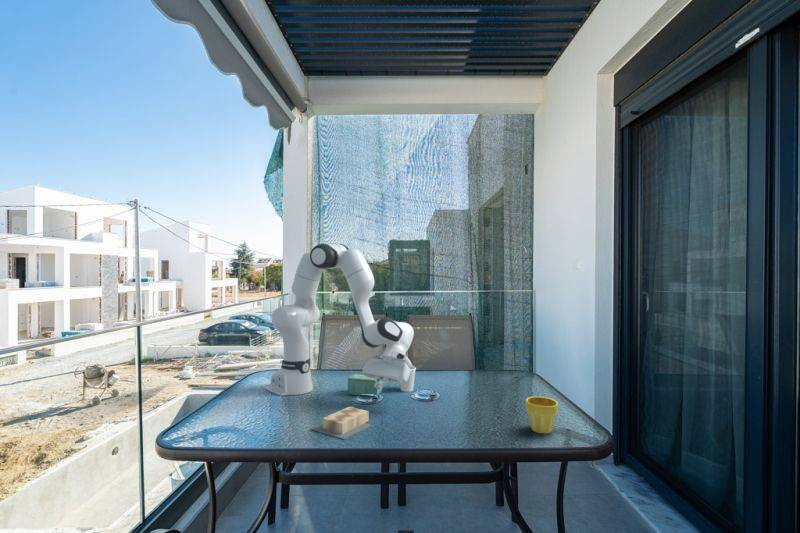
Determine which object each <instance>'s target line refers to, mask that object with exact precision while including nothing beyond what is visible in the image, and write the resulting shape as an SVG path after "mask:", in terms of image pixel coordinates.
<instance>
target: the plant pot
mask: <svg viewBox="0 0 800 533" xmlns="http://www.w3.org/2000/svg"><path fill="white" fill-rule="evenodd" d="M525 410H526V411H527V414H528V419H529V423H530V424H529V425H530V428H531V430H532V431H533V432H535V433H538V434H546V435H547V434H549V433H552V431H553V426H554V423H555V422H554V421H555V418H556V415H557V414H559V413H558V412H559V402H558V401H557V400H555V399H554V398H550V397H546V396H530V397H527V398H526V399H525Z"/></svg>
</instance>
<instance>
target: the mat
mask: <svg viewBox="0 0 800 533" xmlns="http://www.w3.org/2000/svg"><path fill="white" fill-rule="evenodd" d="M370 427H372V424H371V423H367V422H366V423H364V424H362V425H360V426H358V427H356V428H354V429H352V430H350V431H348V432H346V433H344V434H340V433H337V432H333V431H330V430H327V429H323V423H321V424H319V425H316V426H314V427H312V428H311V431H315V432H318V433H321V434H324V435H328V436H329V437H330V436H331V437H333V438H337V439H341V440H344V441H345V440H347V439H349V438H351V437H353V436H355V435H357V434H358V433H361V432H362V431H365V430H366V429H368V428H370Z"/></svg>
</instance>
